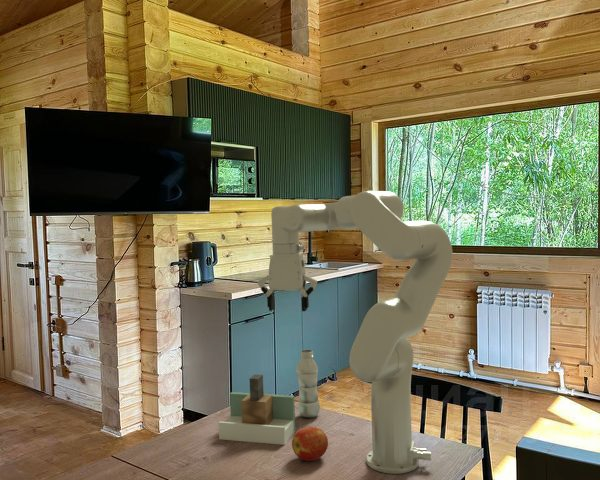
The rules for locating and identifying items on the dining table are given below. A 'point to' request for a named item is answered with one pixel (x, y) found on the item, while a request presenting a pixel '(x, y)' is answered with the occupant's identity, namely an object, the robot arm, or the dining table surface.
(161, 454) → the dining table surface
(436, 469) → the dining table surface
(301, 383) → the plastic bottle
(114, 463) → the dining table surface
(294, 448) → the apple
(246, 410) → the tan grey tall block
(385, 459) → the robot arm
